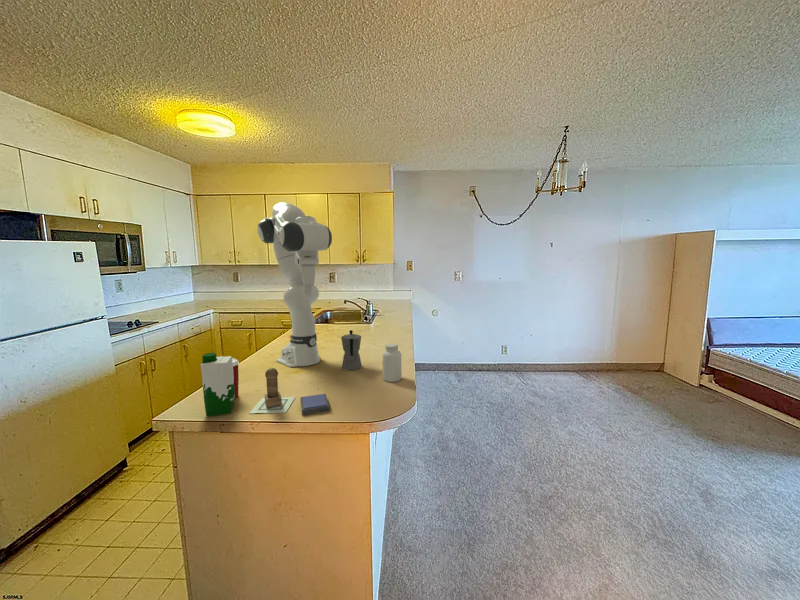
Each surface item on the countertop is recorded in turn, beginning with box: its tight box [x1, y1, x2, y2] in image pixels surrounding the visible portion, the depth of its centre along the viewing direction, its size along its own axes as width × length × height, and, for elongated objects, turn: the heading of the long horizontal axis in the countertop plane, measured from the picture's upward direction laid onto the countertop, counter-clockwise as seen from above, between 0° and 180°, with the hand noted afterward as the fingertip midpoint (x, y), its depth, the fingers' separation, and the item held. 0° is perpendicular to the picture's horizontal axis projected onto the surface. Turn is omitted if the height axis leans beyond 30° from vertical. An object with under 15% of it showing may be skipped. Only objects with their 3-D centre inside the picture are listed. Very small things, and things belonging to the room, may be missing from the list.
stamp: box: [264, 367, 282, 409], centre depth 115 cm, size 5×5×13 cm
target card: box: [249, 396, 296, 415], centre depth 116 cm, size 12×12×1 cm
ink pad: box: [299, 393, 331, 416], centre depth 115 cm, size 11×9×2 cm
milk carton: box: [200, 352, 236, 417], centre depth 111 cm, size 9×9×20 cm
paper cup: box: [232, 357, 240, 399], centre depth 122 cm, size 8×8×14 cm
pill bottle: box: [382, 343, 402, 383], centre depth 140 cm, size 8×8×15 cm
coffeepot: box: [340, 329, 362, 371], centre depth 154 cm, size 15×9×18 cm, turn 9°
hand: (308, 295), depth 129 cm, fingers open, 8 cm apart
